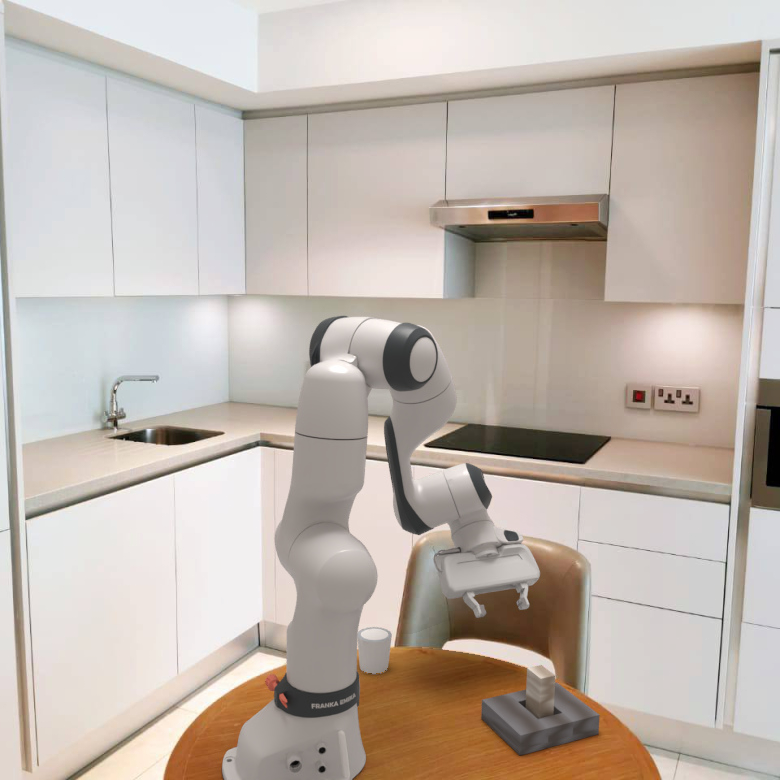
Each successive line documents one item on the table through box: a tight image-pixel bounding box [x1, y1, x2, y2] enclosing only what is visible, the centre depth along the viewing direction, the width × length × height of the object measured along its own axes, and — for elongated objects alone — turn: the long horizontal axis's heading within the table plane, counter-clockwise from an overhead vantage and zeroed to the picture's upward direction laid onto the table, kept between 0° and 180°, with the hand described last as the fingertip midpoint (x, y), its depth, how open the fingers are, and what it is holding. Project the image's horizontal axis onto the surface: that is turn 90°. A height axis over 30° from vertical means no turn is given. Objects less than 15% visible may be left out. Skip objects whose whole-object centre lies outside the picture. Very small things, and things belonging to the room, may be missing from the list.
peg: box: [525, 664, 556, 719], centre depth 135 cm, size 3×4×9 cm
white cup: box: [357, 626, 393, 675], centre depth 155 cm, size 7×7×7 cm
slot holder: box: [480, 681, 601, 756], centre depth 135 cm, size 16×12×4 cm
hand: (503, 612), depth 144 cm, fingers open, 8 cm apart
